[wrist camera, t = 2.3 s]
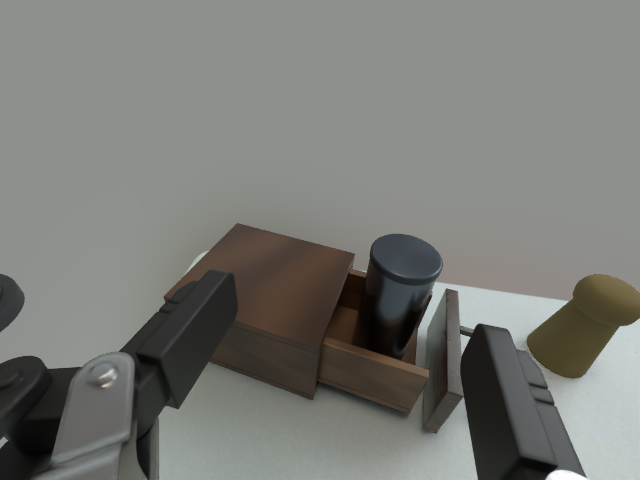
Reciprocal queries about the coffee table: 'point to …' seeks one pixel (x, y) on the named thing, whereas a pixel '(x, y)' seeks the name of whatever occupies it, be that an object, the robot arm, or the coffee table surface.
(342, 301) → the drawer
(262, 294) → the cabinet
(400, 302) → the slate tube
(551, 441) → the robot arm
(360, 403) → the coffee table surface
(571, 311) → the pepper shaker
